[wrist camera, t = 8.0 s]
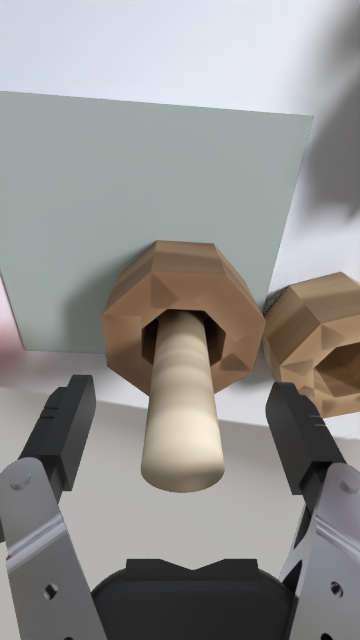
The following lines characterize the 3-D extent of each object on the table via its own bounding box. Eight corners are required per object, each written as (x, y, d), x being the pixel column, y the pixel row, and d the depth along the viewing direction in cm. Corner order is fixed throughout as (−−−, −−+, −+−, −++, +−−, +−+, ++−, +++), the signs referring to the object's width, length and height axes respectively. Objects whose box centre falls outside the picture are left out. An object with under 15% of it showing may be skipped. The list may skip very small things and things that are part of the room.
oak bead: (254, 294, 20) (275, 334, 16) (379, 261, 19) (439, 295, 14) (267, 376, 24) (287, 425, 20) (369, 354, 23) (412, 401, 19)
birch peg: (161, 283, 19) (140, 444, 8) (202, 285, 19) (230, 447, 8) (160, 318, 20) (141, 491, 10) (198, 320, 20) (218, 493, 10)
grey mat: (-49, 88, 13) (-57, 86, 13) (308, 117, 14) (313, 116, 14) (28, 345, 22) (25, 350, 21) (248, 354, 23) (250, 358, 22)
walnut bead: (116, 237, 17) (96, 268, 13) (253, 245, 17) (278, 277, 13) (123, 347, 21) (110, 396, 17) (230, 351, 22) (244, 400, 18)
